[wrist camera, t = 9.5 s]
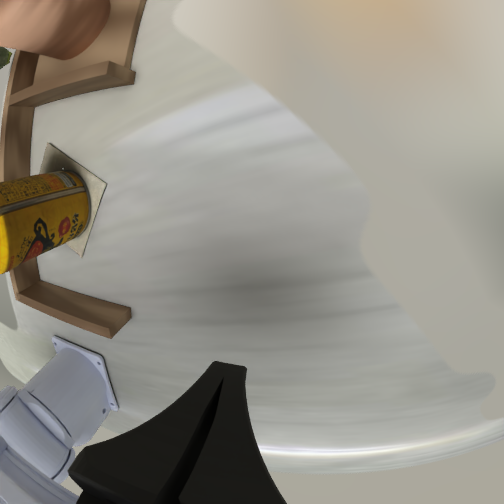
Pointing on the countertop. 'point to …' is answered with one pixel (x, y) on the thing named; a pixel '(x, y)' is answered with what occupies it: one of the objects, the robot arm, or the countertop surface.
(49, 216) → the condiment
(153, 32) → the countertop surface
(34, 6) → the caddy
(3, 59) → the vegetable
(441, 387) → the countertop surface
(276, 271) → the countertop surface
